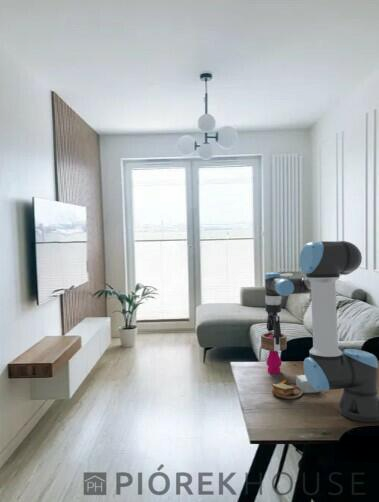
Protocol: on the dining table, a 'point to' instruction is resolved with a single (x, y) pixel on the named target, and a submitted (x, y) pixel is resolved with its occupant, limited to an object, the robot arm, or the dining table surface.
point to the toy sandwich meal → (286, 390)
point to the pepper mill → (273, 360)
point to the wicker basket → (272, 342)
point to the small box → (304, 384)
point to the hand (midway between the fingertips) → (273, 347)
